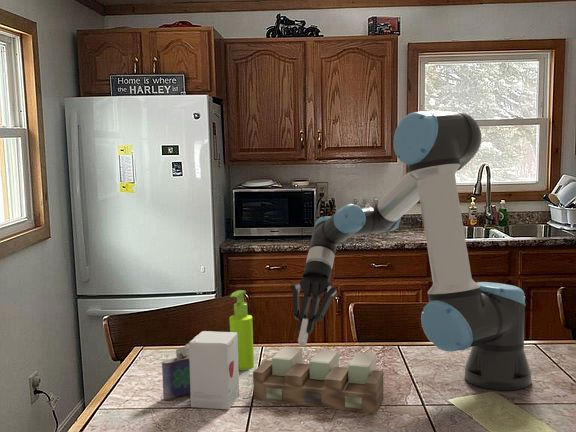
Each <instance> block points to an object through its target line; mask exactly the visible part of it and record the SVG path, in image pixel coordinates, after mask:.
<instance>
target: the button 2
mask: <svg viewBox="0 0 576 432" xmlns="http://www.w3.org/2000/svg"><path fill="white" fill-rule="evenodd" d="M347 368H348V383H356V384H365V383H366V381H367V379H368V378H369V376H370V374H371V372H372V371H373V370H377V354H376V353H368V352H356V353H355V355H354V356H353V358H352V359H351V361H350V362H349V363H348V366H347Z"/></svg>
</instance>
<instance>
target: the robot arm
mask: <svg viewBox="0 0 576 432" xmlns="http://www.w3.org/2000/svg"><path fill="white" fill-rule="evenodd" d="M392 143H393V150H394V153H395V156H396V157H397V159H399V161H400V162H402V164H403V163H404V164H405V165H406V166H407V172H406V174H405V175H404V176H403V177H402V178H401V179H400V180H399V181H398V182H397V183H396V184H395V185H393V187H391V189H390V190H389V191H388V192H386V194H384V195H383V196H382V197H381V198H380V200H378V201H377V202H376V203H375V204H374V205H372V206H370V207H369V206H368V207H360V206H359V205H356V204H354V203H348V204H345V205H344V206H342V207H341V208H339V209H338V210H337V211H336V212H335V213H333V214H332V215H331V216H328V215H326V216H321V217H319V218H317V220H316V221H315V224H314V227H313V228H312V235H311V239H310V245H309V249H308V253H307V257H306V260H305V265H304V269H303V273H302V278H301V279H300V281H299V283H298V284H296V285H295V284H291V285H290V290H291V292H292V311H293V312H292V314H293V317H294V318H295V319H294V320H295V321H298V324H297V327H296V330H297V332H298V334H299V335H298V338H297V342H298V343H297V344H298V345H299V346H300V347H307V342H308V339H309V335H310V334H313V332H314V326H315V323H317V322H319V323H320V322H321V323H322V321H323V319H324V318H325V315H326V313H327V312H328V308H329V307H330V305H331V303H332V300H333V299H334V298H335V297H336V296H337V295H338V291H337V289H336V287H335V286H331V284H330V280H331V277H332V276H331V275H332V271H333V270H332V269H333V266H334V261H335V258H336V257H335V256H336V252H337V247H338V246H339V245H340V244H342V243H343V242H345V241H346V240H347V239H348V238H351V237H357V236H365V235H372V234H381V233H382V234H384V233H385V234H386V233H389V232H392V231H395V230H397V229H398V228H399V226H400V223H401V217H403V216H404V215H405V214H406V213H407V212H408V211H409V210H410V209H412V208H413V207H414V206H415V205H416V204H417V203H418V202H419V205H420V210H421V217H422V222H423V228H424V229H423V230H424V234H425V242H426V247H427V253H428V261H429V266H430V272H431V273H430V274H431V279H432V286H431V287H430V288H429V290H428V291H427V297H428V303H427V304H426V305H424V306H423V311H421V313H420V314H421V315H420V321H421V327H422V330H423V332H424V335H425V336H426V338H427V339H428V341H429V342H430V343H432V344H433V345H434V347H436V348H438V349H439V350H441V351H444V352H448V353H449V352H451V353H452V352H453V353H454V352H458V351H466V350H468V349H470V348H471V349H470V352H469V355H468V358H467V361H466V363H465V366H464V378H465V380H466V381H467V382H468V383H471V384H472V385H475V386H477V387H479V388H483V389H488V390H495V391H517V390H522V389H526V388H527V387H530V385H531V384H532V371H531V367H530V365H529V361H528V357H527V355H526V353H525V318H526V317H525V316H526V315H525V314H526V313H525V312H526V299H525V296H526V295H525V292H524V290H523V289H522V288H521V287H518V286H516V285H512V284H506V283H499V282H492V281H491V282H488V281H477V282H476V281H475V280H474V279H473V278H472V273H471V264H470V259H469V253H468V252H469V251H468V248H467V241H466V235H465V230H464V229H465V228H464V223H463V216H462V210H461V204H460V198H459V191H458V187H457V180H456V173H457V172H458V171H460V170H461V169H463V168H464V167H465V166H466V165H467V164H469V162H470V161H472V160H473V158H474V157H475V156H476V154H477V152H478V151H479V149H480V147H481V143H482V131H481V127H480V126H479V124H478V122H477V121H476V120H475V118H473V117H472V116H471V115H470V114H467V113H465V112H461V111H439V110H438V111H437V110H436V111H433V110H424V111H414V112H410V113H408V114H407V115H405V116H404V117H403V118H402V119H401V120H400V122H399V123H398V126H397V127H396V129H395V132H394V135H393V142H392ZM301 290H302V292H303V299H302V304H301V308H300V295H299V294H300V293H301ZM325 293H326V294H325ZM324 294H325V295H324ZM323 295H324V297H323V298H322V296H323ZM321 298H322V299H323V300H322V302H321ZM320 302H321V303H320ZM310 304H311V305H310ZM319 305H320V306H319ZM309 308H310V309H309ZM307 317H308V318H307Z"/></svg>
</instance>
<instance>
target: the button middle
mask: <svg viewBox="0 0 576 432" xmlns="http://www.w3.org/2000/svg"><path fill="white" fill-rule="evenodd" d="M339 355H340V353H339V350H334V349H333V350H331V349H321V348H320V349H319V350H318V351H317V352H316V354H314V356H313V357H312V358H311V359H310V361H308V362H309V363H308V364H309V370H310V379H316V380H324V379H325V378H326V376H327V375H328V374H329V372H330V371H331V370H332V368H333V367H340V364H339V363H340V362H339Z"/></svg>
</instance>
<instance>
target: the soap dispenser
mask: <svg viewBox="0 0 576 432" xmlns="http://www.w3.org/2000/svg"><path fill="white" fill-rule="evenodd" d="M245 294H246V290H241V289H239V290H238V289H237V290H235V291H234V292H232V293H231V294H230V295H229V297H230V298H235V299H236V302H235V303H234V304H233V315H231V316H229V332H237V339H238V370H239V371H246V370H251V369H252V368H254V367H255V362H254V361H255V360H254V359H255V358H254V328H253V316H252V314H251V315H250V314H248V303H247V302H245V300H244V295H245Z"/></svg>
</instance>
